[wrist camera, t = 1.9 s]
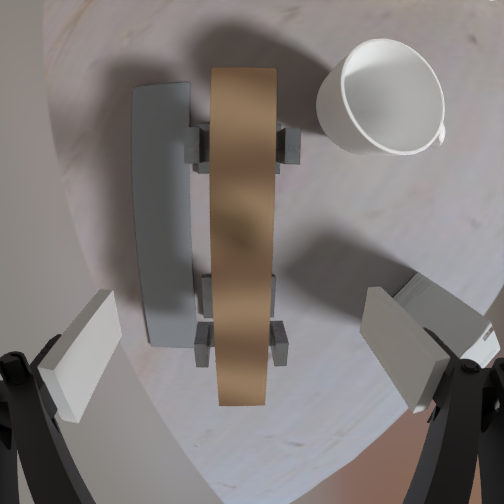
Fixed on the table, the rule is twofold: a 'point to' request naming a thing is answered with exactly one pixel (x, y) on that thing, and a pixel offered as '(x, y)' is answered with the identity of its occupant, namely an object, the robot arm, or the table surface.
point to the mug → (382, 101)
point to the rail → (242, 227)
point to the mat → (163, 212)
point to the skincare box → (449, 319)
